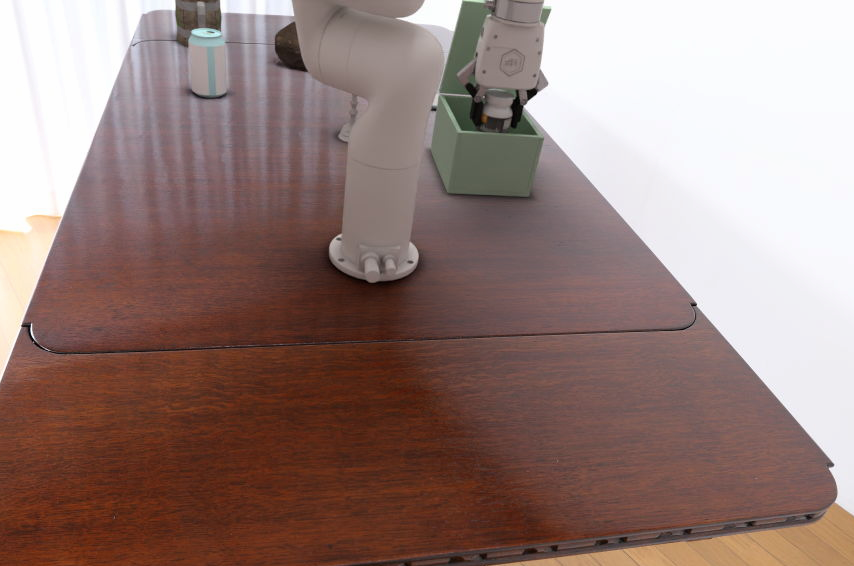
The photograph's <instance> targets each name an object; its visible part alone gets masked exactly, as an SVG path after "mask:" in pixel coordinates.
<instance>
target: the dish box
mask: <svg viewBox="0 0 854 566" xmlns="http://www.w3.org/2000/svg"><path fill="white" fill-rule="evenodd" d="M438 94H439V97H438V104H437V109H435V110H436V111H435V116H434V122H433V123H434V125H433V131H432V137H431V144H430V150H429V151H430V153H431V156H432V159H433V161H434V164H435V166H436V168H437V170H438V172H439V176H440V178H441V182H442V183H443V186H444V188H445V191H446V194H457V195H478V196H479V195H480V196H499V197H519V198H520V197H522V198H529V197H530V196H531V192H532V188H533V184H534V180H535V176H536V172H537V167H538V165H539V160H540V156H541V153H542V148H543V145H544V141H545V137H544V135H543V134H542V132H541V131H540V130H539V129H538V127H537V125H535V123H534V122H533V120H532V119H531V117H529V115H528V114H527V112H526V111H525V110H524V109H523V111H522V116H521V120H520V122H518V123H517V127H516V129H513V128H512V127H511V126H510V128H509V133H508V134H506V133H490V132H475V128H476V126H475V125H474V123H473V122H472V119H470V110H471V104H472V99H473V98H472V96H470V95H456V94H444V95H440V94H441V93H438ZM482 102H483V103H485V98H484V97H483V99H482ZM510 108H511V105H510Z"/></svg>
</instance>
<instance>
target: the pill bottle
mask: <svg viewBox="0 0 854 566" xmlns="http://www.w3.org/2000/svg"><path fill="white" fill-rule="evenodd" d="M483 98H485V103H483V104H484V106H483V111H482V116H481V122H480V126H476V128H475V132H490V133H506V134H508V133H509V128H510V124H511V120H512V116H513V112H512V109H511V108H510V105H511V104H512V103H513V99H515V98H514V96H513V94H512V93H510V92H508V91H505V90H501V89H488V90H487V91H486V93H485V96H483Z"/></svg>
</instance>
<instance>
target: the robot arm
mask: <svg viewBox="0 0 854 566" xmlns="http://www.w3.org/2000/svg"><path fill="white" fill-rule="evenodd" d="M425 1H426V0H291V5H292V10H293V18H294V22H295V23H296V29H297V35H298V40H299V46H300V51H301V55H302V59H303V62H304V64H305V67H306V69H307V70H306V71H307V72H308V74H309V75H310V76H311V78H313V79H314V80H316V81H317V82H319V83H321V84H323V85H325V86H328V87H331V88H334V89H337V90H339V91H343V92H345V93H348V94H351V95H352V94H354V95H357V97H358V98H360V99H361V98H362V99H364V100H365V101H367V102H368V106H367V108H366V110H365V111H364V112H363V113H362V114H361V115H360V116H359V117H358V118H357V119H356V120H355V121H356V122H355V123H354V125H353V126H352V128H351V131H350V134H349V139H348V142H347V155H346V170H345V182H344V183H345V184H344V198H343V207H342V208H343V210H342V223H341V224H342V225H341V233H340V234H338V235H336V236H335V237H334V238H332V240H331V241H330V242H329V247H328V257H329V260H330V262H331V263H332V265H333V266H335V267H336V268H337V270H339V271H341V272H342V273H344V274H346V275H348V276H351V277H352V278H355V279H359V280H364V281H367V282H368V283H371V284H374V283H377V282H388V281H389V282H390V281H395V280H399V279H403V278H404V277H407V276H409V275H410V274H411V273H413V272H414V271H415V269H416V268H417V267H418V263H419V258H420V257H419V256H420V255H419V251H418V249H417V247H416V246H415V244H414V243H413V242H411V236H412V235H411V234H412V231H413V223H414V215H415V208H416V201H417V195H418V188H419V181H420V173H421V168H422V167H421V166H422V162H423V161H422V159H423V152H424V145H425V140H426V133H427V129H428V124H429V119H430V116H431V111H432V109H431V108H432V105H433V101H434V98H435V95H436V94H437V92H438V90H439V87H440V84H441V81H442V77H443V73H444V69H445V52H444V49H443V46H442V43H441V42H440V41H439V39H438V38H437V36H435V35H434V34H433V32H431V31H430V30H428V29H426V28H424V27H423V26H421V25H419V24H416V23H413V22H410V21H407V20H404V18H407V17H410V16H413V15H415V14H416V13H417V12H418V11H419V10H420V9H421V8H422V7H423V5H424V3H425ZM544 5H545V0H484V9H488V10H490V12H491V15H487V17H486V19H485V22H484V25H483V27H482V30H481V33H480V37H479V40H478V43H477V47H476V51H475V55H474V59H473V60H472V61H471V62H470V63H468V64H467V65H466V66H465V67H464V68H463V69H462V70H461V71H459V72H458V73H457V75H456V76H457V78H458V80H459V81H460V82H461V84H462V85H463V86H464V87H465V88H466V90H467V91H468V92H469V94H470V95H469V96H470V97H472V98H473V99H472V104H471V110H470V119H472V122H473V123H474V125H475V126H480V122H481V116H482V111H483V106H484V104H483V102H482V99H483V98H484V97H485V96H484V94H485V93H486V91H487V89H488V88H500V89H514V90H515V92H516V97H515V98H513V103H512V104H511V109H512V112H513V116H512V120H511V124H510V126H511V127H512V128H513V129H516V127H517V123H518V122H520V120H521V116H522V111H523V110H524V107H525V106H526V105H528V102H529V101H530V100H532V99H533V98H534V97H535V96H537V95H538V93H540V92H541V91H543V90H544V89H545V88H547V87H548V86H549V81H548V79H547V78H546V76H545V74H544V73H543V71H542V69H541V65H542V60H543V59H542V58H543V51H544V42H545V28H544V23H542V22H541V21H540V18H541V13H542V9H543V6H544ZM471 74H472V75H473V76H474V77H475V80H476V81H477V82H476V84H475V86H473V84H472V83H471V82H470V81H469V79H468V77H469V76H470V75H471Z"/></svg>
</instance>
